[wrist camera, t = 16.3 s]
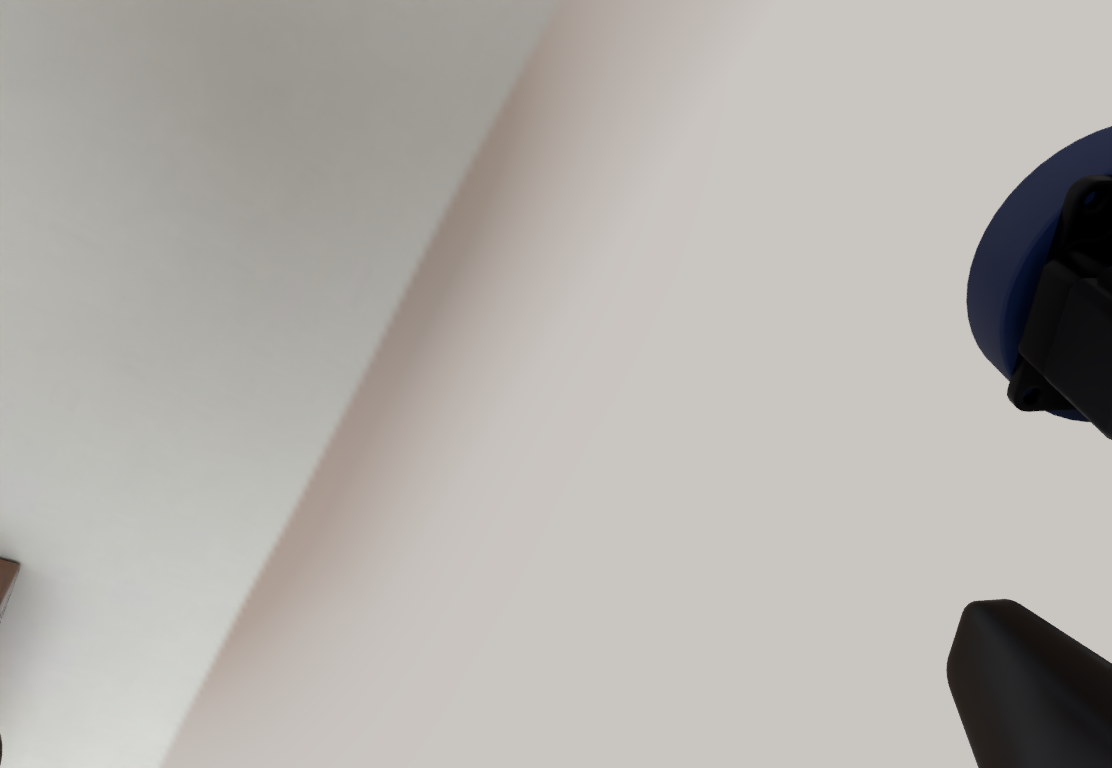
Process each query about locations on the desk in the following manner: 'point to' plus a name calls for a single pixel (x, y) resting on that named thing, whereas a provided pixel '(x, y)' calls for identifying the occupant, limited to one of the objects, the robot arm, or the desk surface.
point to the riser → (6, 582)
